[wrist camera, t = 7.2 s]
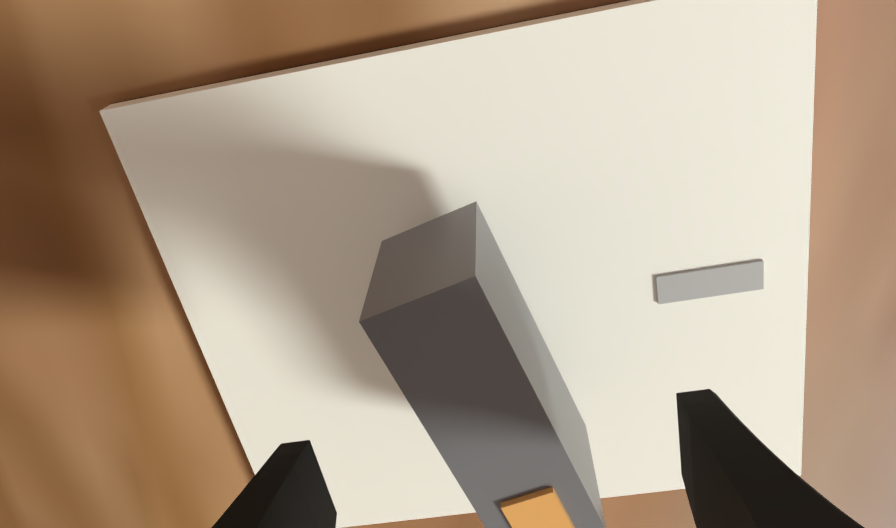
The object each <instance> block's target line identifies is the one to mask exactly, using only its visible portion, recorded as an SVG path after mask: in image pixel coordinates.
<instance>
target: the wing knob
mask: <svg viewBox="0 0 896 528" xmlns="http://www.w3.org/2000/svg"><path fill="white" fill-rule="evenodd" d="M359 323H360V324H361V326H362V328H363V329H364V331H365V332H366V334H367V336H368V337H369V339H370V341H371V342H372V344H373V345H374V347H375V349H376V350H377V352H378V354H379V355H380V357H381V358H382V360H383V362H384V363H385V365H386V367H387V368H388V370H389V371H390V373H391V375H392V376H393V378H394V380H395V381H396V383H397V384H398V386H399V388H400V389H401V391H402V392H403V394H404V396H405V397H406V399H407V401H408V402H409V404H410V405H411V407H412V409H413V410H414V412H415V414H416V415H417V417H418V418H419V420H420V422H421V423H422V425H423V427H424V428H425V430H426V431H427V433H428V435H429V436H430V438H431V440H432V441H433V443H434V444H435V446H436V448H437V449H438V451H439V453H440V454H441V456H442V457H443V459H444V461H445V462H446V464H447V466H448V467H449V469H450V470H451V472H452V474H453V475H454V477H455V479H456V480H457V482H458V483H459V485H460V487H461V488H462V490H463V492H464V493H465V495H466V496H467V498H468V500H469V501H470V503H471V505H472V506H473V508H474V509H475V511H476V513H477V514H478V516H479V518H480V519H481V521H482V522H483V524H484V526H485V527H486V528H606V525H605V520H604V515H603V510H602V505H601V500H600V495H599V490H598V485H597V480H596V475H595V469H594V464H593V459H592V454H591V449H590V444H589V439H588V434H587V429H586V425H585V423H584V421H583V419H582V417H581V415H580V413H579V411H578V409H577V407H576V405H575V402H574V400H573V398H572V396H571V394H570V392H569V390H568V388H567V386H566V384H565V382H564V380H563V378H562V376H561V374H560V372H559V370H558V368H557V366H556V364H555V361H554V359H553V357H552V355H551V353H550V351H549V349H548V347H547V345H546V343H545V341H544V339H543V337H542V335H541V333H540V331H539V329H538V327H537V325H536V322H535V320H534V318H533V316H532V314H531V312H530V310H529V308H528V306H527V304H526V302H525V300H524V298H523V296H522V294H521V292H520V290H519V288H518V286H517V284H516V281H515V279H514V277H513V275H512V273H511V271H510V269H509V267H508V265H507V263H506V261H505V259H504V257H503V255H502V253H501V251H500V249H499V247H498V245H497V242H496V240H495V238H494V236H493V234H492V232H491V230H490V228H489V226H488V224H487V222H486V220H485V218H484V216H483V214H482V212H481V210H480V208H479V206H478V204H477V201H476V202H473V203H471V204H469V205H466V206H464V207H461V208H459V209H457V210H454V211H452V212H450V213H447V214H445V215H442V216H440V217H438V218H435V219H433V220H430V221H428V222H426V223H423V224H421V225H419V226H416V227H414V228H411V229H409V230H407V231H404V232H402V233H400V234H397V235H395V236H392V237H390V238H388V239H385V240H383V241H382V242H381V245H380V249H379V253H378V256H377V260H376V263H375V267H374V270H373V274H372V277H371V281H370V284H369V288H368V291H367V295H366V298H365V302H364V305H363V309H362V312H361V316H360V320H359Z"/></svg>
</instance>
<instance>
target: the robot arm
mask: <svg viewBox="0 0 896 528" xmlns="http://www.w3.org/2000/svg"><path fill="white" fill-rule="evenodd" d="M676 399H677V414H678V429H679V444H680V459H681V474H682V478H683V482H684V485H685V489H686V493H687V496H688V500H689V503H690V507H691V510H692V514H693V517H694V521H695V524H696V527H697V528H864V527H863V526H861V525H860V524H858V523H857V522H856V521H854V520H853V519H852V518H850V517H849V516H848V515H846V514H845V513H844V512H842V511H841V510H840V509H838V508H837V507H836V506H835V505H833V504H832V503H831V502H829V501H828V500H827V499H826V498H824V497H823V496H822V495H821V494H820V493H818V492H817V491H816V490H815V489H814V488H812V487H811V486H810V485H809V484H808V483H806V482H805V481H804V480H803V479H802V478H801V477H799V476H798V475H797V474H796V473H795V472H794V471H793V470H791V469H790V468H789V467H788V466H787V465H786V464H785V463H784V462H783V461H782V460H781V459H779V458H778V457H777V456H776V455H775V454H774V453H773V452H772V451H771V450H770V449H769V448H768V447H767V446H765V445H764V444H763V443H762V442H761V441H760V440H759V439H758V438H757V437H756V436H755V435H754V434H753V433H752V432H751V431H750V430H749V429H748V428H747V427H746V426H745V425H744V424H743V423H742V422H741V420H740V419H739V418H738V417H737V416H736V415H735V414H734V413H733V412H732V411H731V410H730V409H729V408H728V407H727V405H726V404H725V403H724V402H723V401H722V400H721V399H720V398H719V396H718V395H717V394H716V393H715V392H713V391H712V390H711V389H704V390H696V391H689V392H681V393H676ZM336 518H337V512H336V509H335V506H334V504H333V501H332V498H331V496H330V493H329V490H328V488H327V485H326V482H325V480H324V477H323V474H322V472H321V469H320V466H319V463H318V461H317V458H316V455H315V453H314V450H313V447H312V445H311V442H310V440H305V441H297V442H289V443H281V444H280V445H279V446H278V448H277V449H276V450H275V451H274V452H273V454H272V455H271V456H270V457H269V458H268V460H267V461H266V462H265V463H264V465H263V466H262V467H261V468H260V470H259V471H258V472H257V473H256V475H255V476H254V477H253V478H252V480H251V481H250V482H249V483H248V485H247V486H246V487H245V488H244V490H243V491H242V492H241V493H240V494H239V496H238V497H237V498H236V499H235V500H234V502H233V503H232V504H231V505H230V506H229V508H228V509H227V510H226V511H225V513H224V514H223V515H222V516H221V517H220V519H219V520H218V521H217V522H216V523H215V524H214V525H213V527H212V528H336Z"/></svg>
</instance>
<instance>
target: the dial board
mask: <svg viewBox="0 0 896 528" xmlns="http://www.w3.org/2000/svg"><path fill="white" fill-rule="evenodd" d="M816 22H817V0H630V1H625V2H620V3H615V4H610V5H605V6H600V7H595V8H590V9H585V10H580V11H575V12H570V13H565V14H560V15H555V16H550V17H545V18H540V19H535V20H530V21H525V22H520V23H515V24H510V25H505V26H500V27H495V28H490V29H485V30H480V31H475V32H470V33H465V34H460V35H455V36H450V37H445V38H440V39H435V40H430V41H425V42H420V43H415V44H410V45H405V46H400V47H395V48H390V49H385V50H380V51H375V52H370V53H365V54H360V55H355V56H350V57H345V58H340V59H335V60H330V61H325V62H320V63H315V64H310V65H305V66H300V67H295V68H290V69H285V70H280V71H275V72H270V73H265V74H260V75H255V76H250V77H245V78H240V79H235V80H230V81H225V82H220V83H215V84H210V85H205V86H200V87H195V88H190V89H185V90H180V91H175V92H170V93H165V94H160V95H155V96H150V97H145V98H140V99H135V100H130V101H125V102H120V103H115V104H110V105H109V106H107V107H105V108H103V109H102V110H100V111H99V112H100V114H101V117H102V119H103V121H104V124H105V126H106V128H107V131H108V133H109V135H110V138H111V140H112V142H113V145H114V147H115V149H116V152H117V154H118V156H119V159H120V161H121V163H122V166H123V168H124V170H125V173H126V175H127V177H128V180H129V182H130V184H131V187H132V189H133V191H134V194H135V196H136V198H137V201H138V203H139V205H140V208H141V210H142V212H143V215H144V217H145V219H146V222H147V224H148V226H149V229H150V231H151V233H152V236H153V238H154V240H155V243H156V245H157V247H158V250H159V252H160V254H161V257H162V259H163V261H164V264H165V266H166V268H167V271H168V273H169V275H170V278H171V280H172V282H173V285H174V287H175V289H176V292H177V294H178V296H179V299H180V301H181V303H182V306H183V308H184V310H185V313H186V315H187V317H188V320H189V322H190V324H191V327H192V329H193V331H194V334H195V336H196V338H197V341H198V343H199V345H200V348H201V350H202V352H203V355H204V357H205V359H206V362H207V364H208V366H209V369H210V371H211V373H212V376H213V378H214V380H215V383H216V385H217V387H218V390H219V392H220V394H221V397H222V399H223V401H224V404H225V406H226V408H227V411H228V413H229V416H230V418H231V420H232V423H233V425H234V427H235V430H236V432H237V434H238V437H239V439H240V441H241V444H242V446H243V448H244V451H245V453H246V455H247V458H248V460H249V462H250V465H251V467H252V469H253V472H254V474H255V475H256V473H257V472H258V471H259V470H260V468H261V467H262V466H263V465H264V463H265V462H266V461H267V460H268V458H269V457H270V456H271V455H272V454H273V452H274V451H275V450H276V449H277V448H278V446H279V445H280V444H281V443H289V442H297V441H305V440H310V442H311V445H312V447H313V450H314V453H315V455H316V458H317V461H318V463H319V466H320V469H321V472H322V474H323V477H324V480H325V482H326V485H327V488H328V490H329V493H330V496H331V498H332V501H333V504H334V506H335V509H336V512H337V518H336V528H342V527H351V526H359V525H368V524H377V523H386V522H395V521H404V520H412V519H421V518H430V517H439V516H448V515H456V514H465V513H474V512H476V511H475V509H474V508H473V506H472V505H471V503H470V501H469V500H468V498H467V496H466V495H465V493H464V492H463V490H462V488H461V487H460V485H459V483H458V482H457V480H456V479H455V477H454V475H453V474H452V472H451V470H450V469H449V467H448V466H447V464H446V462H445V461H444V459H443V457H442V456H441V454H440V453H439V451H438V449H437V448H436V446H435V444H434V443H433V441H432V440H431V438H430V436H429V435H428V433H427V431H426V430H425V428H424V427H423V425H422V423H421V422H420V420H419V418H418V417H417V415H416V414H415V412H414V410H413V409H412V407H411V405H410V404H409V402H408V401H407V399H406V397H405V396H404V394H403V392H402V391H401V389H400V388H399V386H398V384H397V383H396V381H395V380H394V378H393V376H392V375H391V373H390V371H389V370H388V368H387V367H386V365H385V363H384V362H383V360H382V358H381V357H380V355H379V354H378V352H377V350H376V349H375V347H374V345H373V344H372V342H371V341H370V339H369V337H368V336H367V334H366V332H365V331H364V329H363V328H362V326H361V324H360V323H359V320H360V316H361V312H362V309H363V305H364V302H365V298H366V295H367V291H368V288H369V284H370V281H371V277H372V274H373V270H374V267H375V263H376V260H377V256H378V253H379V249H380V245H381V242H382V241H383V240H385V239H388V238H390V237H392V236H395V235H397V234H400V233H402V232H404V231H407V230H409V229H411V228H414V227H416V226H419V225H421V224H423V223H426V222H428V221H430V220H433V219H435V218H438V217H440V216H442V215H445V214H447V213H450V212H452V211H454V210H457V209H459V208H461V207H464V206H466V205H469V204H471V203H473V202H476V201H477V204H478V206H479V208H480V210H481V212H482V214H483V216H484V218H485V220H486V222H487V224H488V226H489V228H490V230H491V232H492V234H493V236H494V238H495V240H496V242H497V245H498V247H499V249H500V251H501V253H502V255H503V257H504V259H505V261H506V263H507V265H508V267H509V269H510V271H511V273H512V275H513V277H514V279H515V281H516V284H517V286H518V288H519V290H520V292H521V294H522V296H523V298H524V300H525V302H526V304H527V306H528V308H529V310H530V312H531V314H532V316H533V318H534V320H535V322H536V325H537V327H538V329H539V331H540V333H541V335H542V337H543V339H544V341H545V343H546V345H547V347H548V349H549V351H550V353H551V355H552V357H553V359H554V361H555V364H556V366H557V368H558V370H559V372H560V374H561V376H562V378H563V380H564V382H565V384H566V386H567V388H568V390H569V392H570V394H571V396H572V398H573V400H574V402H575V405H576V407H577V409H578V411H579V413H580V415H581V417H582V419H583V421H584V423H585V425H586V429H587V434H588V439H589V444H590V449H591V454H592V459H593V464H594V469H595V475H596V480H597V485H598V490H599V495H600V498H606V497H615V496H624V495H633V494H642V493H651V492H659V491H668V490H677V489H685V485H684V482H683V478H682V474H681V459H680V444H679V429H678V414H677V399H676V393H681V392H689V391H696V390H704V389H711V390H712V391H713V392H715V393H716V394H717V395H718V396H719V398H720V399H721V400H722V401H723V402H724V403H725V404H726V405H727V407H728V408H729V409H730V410H731V411H732V412H733V413H734V414H735V415H736V416H737V417H738V418H739V419H740V420H741V422H742V423H743V424H744V425H745V426H746V427H747V428H748V429H749V430H750V431H751V432H752V433H753V434H754V435H755V436H756V437H757V438H758V439H759V440H760V441H761V442H762V443H763V444H764V445H765V446H767V447H768V448H769V449H770V450H771V451H772V452H773V453H774V454H775V455H776V456H777V457H778V458H779V459H781V460H782V461H783V462H784V463H785V464H786V465H787V466H788V467H789V468H790V469H791V470H793V471H794V472H795V473H796V474H797V475H798V476H800V475H801V461H802V431H803V402H804V373H805V343H806V314H807V285H808V256H809V226H810V197H811V168H812V139H813V109H814V80H815V51H816Z"/></svg>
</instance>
